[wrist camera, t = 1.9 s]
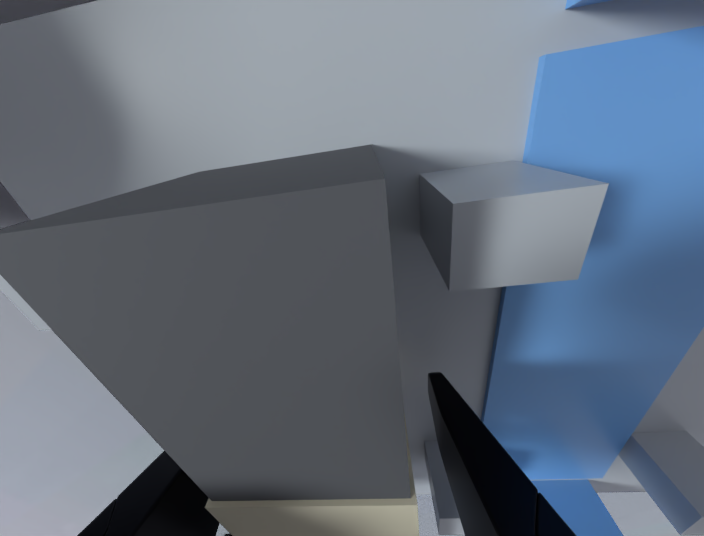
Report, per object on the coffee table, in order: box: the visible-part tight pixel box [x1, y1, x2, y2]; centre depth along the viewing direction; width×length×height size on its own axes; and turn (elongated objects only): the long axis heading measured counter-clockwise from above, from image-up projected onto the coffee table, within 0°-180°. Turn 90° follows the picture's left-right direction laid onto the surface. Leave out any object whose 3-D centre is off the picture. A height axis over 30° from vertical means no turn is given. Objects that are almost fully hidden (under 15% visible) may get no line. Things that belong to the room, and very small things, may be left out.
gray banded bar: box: [0, 144, 419, 536], centre depth 7 cm, size 14×4×4 cm, turn 8°
